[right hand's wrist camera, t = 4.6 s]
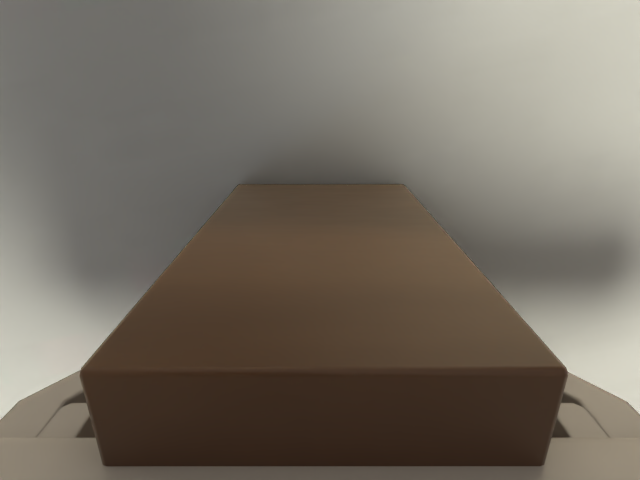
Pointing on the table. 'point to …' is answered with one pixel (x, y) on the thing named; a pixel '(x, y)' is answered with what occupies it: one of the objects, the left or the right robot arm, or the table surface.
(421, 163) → the table surface
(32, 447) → the right robot arm
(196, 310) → the bar
